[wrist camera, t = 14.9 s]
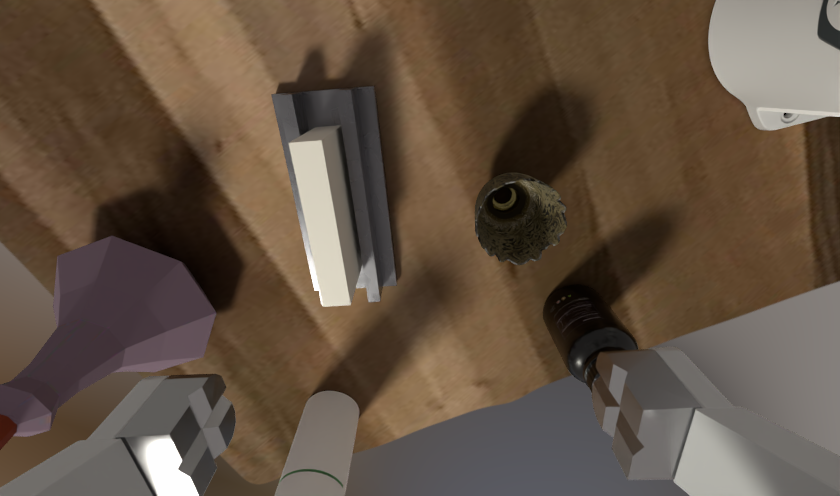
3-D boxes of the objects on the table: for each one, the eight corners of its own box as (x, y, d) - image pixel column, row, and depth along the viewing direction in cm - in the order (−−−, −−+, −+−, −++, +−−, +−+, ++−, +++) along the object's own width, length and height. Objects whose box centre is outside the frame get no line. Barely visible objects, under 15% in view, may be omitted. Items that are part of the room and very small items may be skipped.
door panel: (315, 127, 35) (288, 142, 28) (341, 125, 35) (321, 140, 28) (340, 264, 41) (323, 306, 34) (363, 262, 41) (350, 304, 34)
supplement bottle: (612, 312, 45) (673, 391, 34) (559, 341, 47) (601, 425, 36) (583, 270, 43) (639, 340, 32) (529, 303, 44) (565, 380, 34)
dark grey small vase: (508, 141, 37) (529, 159, 30) (555, 194, 39) (586, 224, 32) (450, 195, 39) (456, 224, 32) (498, 242, 41) (514, 280, 34)
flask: (55, 283, 43) (-208, 439, 25) (133, 187, 39) (-120, 293, 21) (182, 368, 49) (39, 548, 30) (265, 292, 44) (155, 451, 26)
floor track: (275, 93, 35) (258, 96, 31) (374, 85, 35) (369, 87, 31) (316, 285, 43) (307, 306, 40) (397, 280, 43) (395, 300, 40)
